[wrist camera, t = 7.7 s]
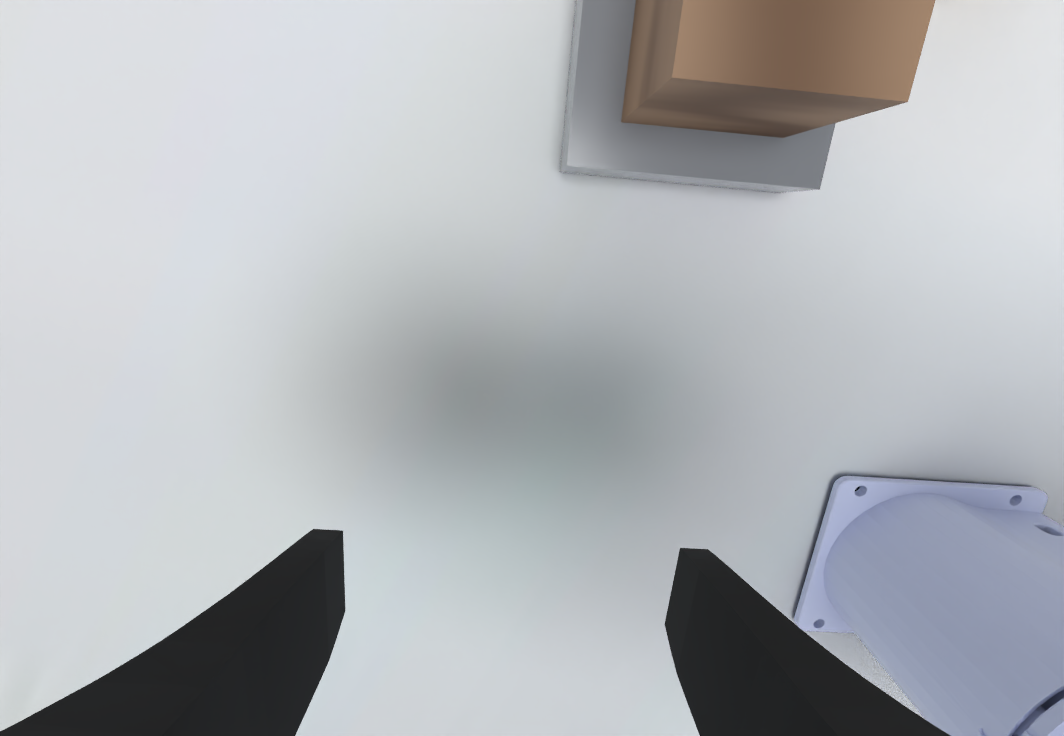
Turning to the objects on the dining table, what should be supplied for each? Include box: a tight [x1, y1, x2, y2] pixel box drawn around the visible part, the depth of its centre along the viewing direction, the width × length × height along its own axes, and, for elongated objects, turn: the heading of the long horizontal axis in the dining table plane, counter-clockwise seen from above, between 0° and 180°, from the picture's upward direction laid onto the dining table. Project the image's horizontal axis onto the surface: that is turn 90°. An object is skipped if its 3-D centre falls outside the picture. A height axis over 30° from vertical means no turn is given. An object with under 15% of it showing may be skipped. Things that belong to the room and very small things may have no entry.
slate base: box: [560, 0, 835, 193], centre depth 15 cm, size 8×8×2 cm
